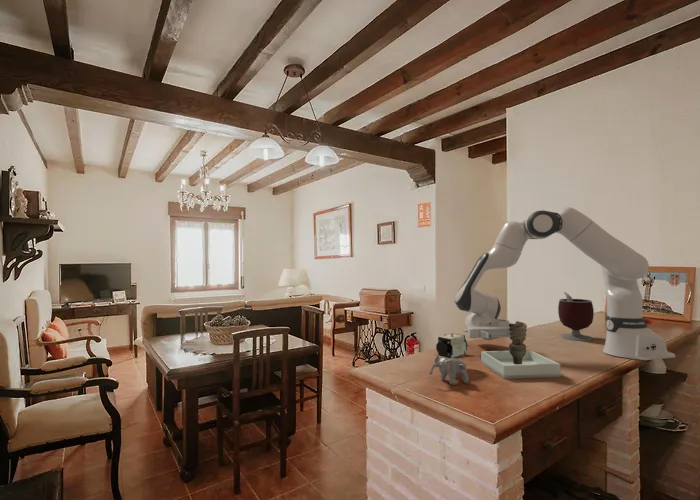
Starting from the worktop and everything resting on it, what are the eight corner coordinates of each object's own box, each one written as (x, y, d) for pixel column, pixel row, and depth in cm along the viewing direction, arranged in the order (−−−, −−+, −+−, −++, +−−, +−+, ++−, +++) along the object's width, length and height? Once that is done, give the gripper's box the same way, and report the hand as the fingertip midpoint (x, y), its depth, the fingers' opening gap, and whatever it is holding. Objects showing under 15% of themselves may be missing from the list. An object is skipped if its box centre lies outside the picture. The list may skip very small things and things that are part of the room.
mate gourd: (601, 341, 167) (600, 295, 167) (569, 341, 167) (568, 295, 168) (580, 333, 183) (579, 291, 183) (551, 334, 183) (550, 292, 183)
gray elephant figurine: (473, 383, 115) (473, 358, 116) (450, 390, 108) (450, 363, 108) (448, 377, 122) (448, 352, 123) (424, 383, 115) (424, 357, 115)
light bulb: (526, 364, 129) (525, 320, 130) (528, 369, 124) (527, 322, 124) (508, 363, 131) (507, 319, 131) (509, 367, 126) (509, 322, 126)
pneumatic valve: (436, 370, 128) (435, 334, 128) (456, 363, 135) (455, 329, 136) (449, 374, 124) (449, 336, 124) (470, 366, 131) (469, 331, 131)
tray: (530, 361, 137) (530, 350, 137) (560, 377, 119) (560, 364, 119) (481, 362, 136) (481, 351, 136) (503, 378, 118) (503, 365, 118)
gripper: (461, 321, 153) (474, 327, 140) (511, 319, 154) (528, 326, 141) (461, 337, 153) (474, 345, 139) (511, 335, 154) (529, 343, 140)
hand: (502, 335), depth 140 cm, fingers open, 8 cm apart
